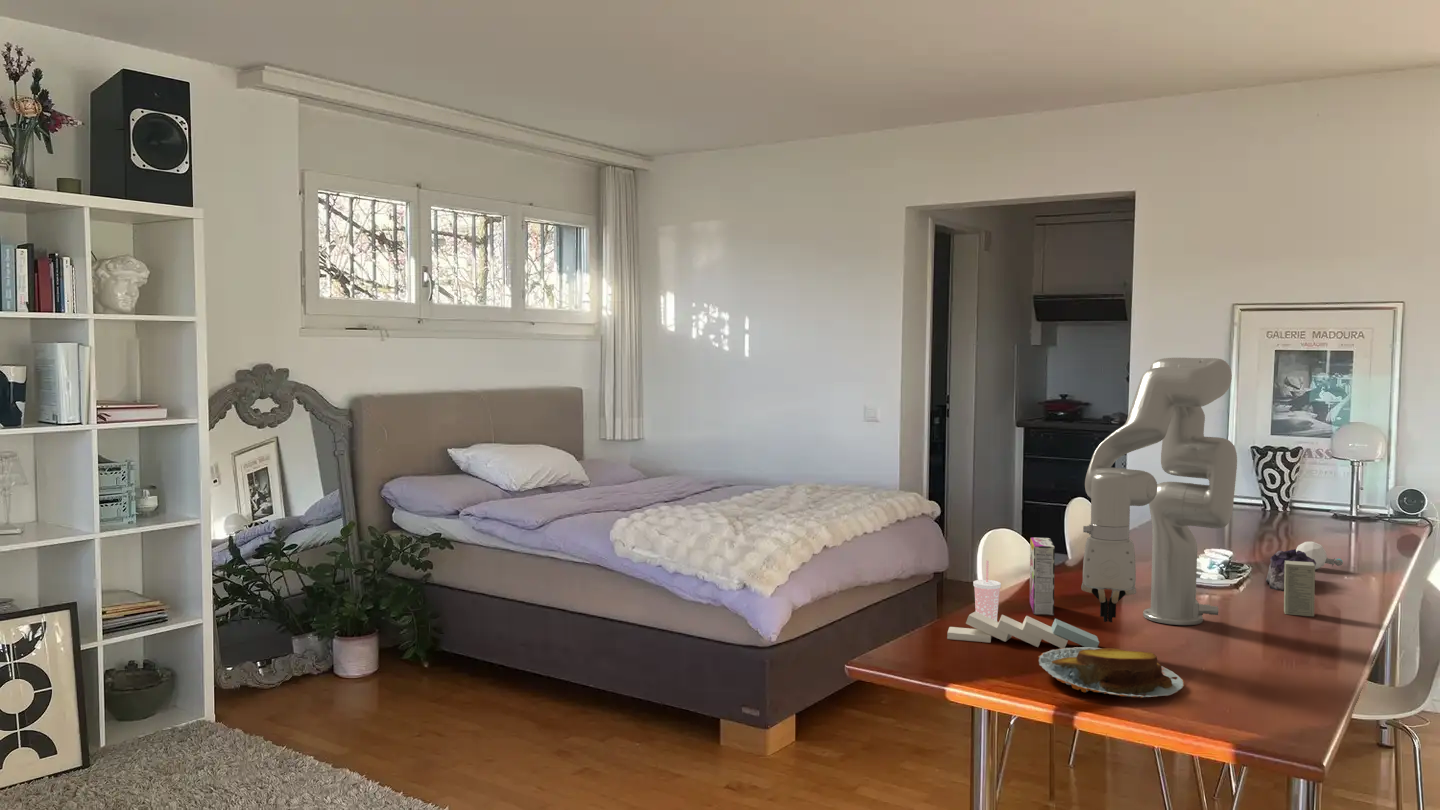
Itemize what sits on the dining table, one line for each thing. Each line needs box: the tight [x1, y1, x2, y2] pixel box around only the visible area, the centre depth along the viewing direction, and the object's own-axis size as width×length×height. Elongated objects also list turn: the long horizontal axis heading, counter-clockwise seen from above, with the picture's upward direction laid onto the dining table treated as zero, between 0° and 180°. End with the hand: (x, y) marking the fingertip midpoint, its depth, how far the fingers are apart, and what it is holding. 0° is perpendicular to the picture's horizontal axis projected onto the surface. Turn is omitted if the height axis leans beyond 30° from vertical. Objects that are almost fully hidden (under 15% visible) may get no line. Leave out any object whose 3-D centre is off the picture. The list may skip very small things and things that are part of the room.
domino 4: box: [1022, 615, 1069, 649], centre depth 222 cm, size 2×5×9 cm
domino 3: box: [997, 614, 1042, 648], centre depth 224 cm, size 2×5×9 cm
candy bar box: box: [1029, 537, 1056, 616], centre depth 252 cm, size 11×5×16 cm, turn 168°
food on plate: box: [1037, 646, 1185, 699], centre depth 198 cm, size 26×26×7 cm
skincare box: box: [1283, 560, 1316, 617], centre depth 249 cm, size 6×4×12 cm
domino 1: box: [946, 626, 993, 643], centre depth 228 cm, size 2×5×9 cm
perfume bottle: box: [1295, 541, 1344, 571], centre depth 298 cm, size 8×8×12 cm
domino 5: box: [1051, 618, 1100, 648], centre depth 221 cm, size 2×5×9 cm
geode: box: [1265, 548, 1316, 592], centre depth 280 cm, size 20×12×10 cm, turn 145°
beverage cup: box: [972, 560, 1002, 622], centre depth 241 cm, size 6×6×14 cm
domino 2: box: [965, 611, 1013, 642], centre depth 228 cm, size 2×5×9 cm
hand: (1107, 620), depth 219 cm, fingers closed
